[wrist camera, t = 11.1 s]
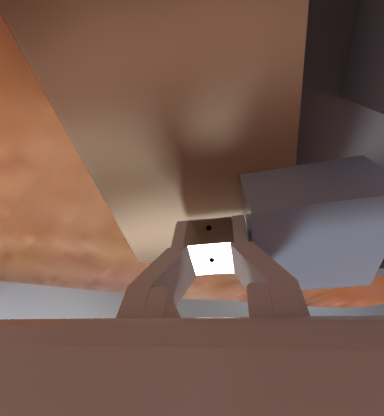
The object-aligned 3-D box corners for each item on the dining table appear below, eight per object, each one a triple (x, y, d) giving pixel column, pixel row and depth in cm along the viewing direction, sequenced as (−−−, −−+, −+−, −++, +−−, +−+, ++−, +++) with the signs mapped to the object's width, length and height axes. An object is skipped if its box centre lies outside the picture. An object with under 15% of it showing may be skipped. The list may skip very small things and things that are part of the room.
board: (51, 4, 8) (-15, -13, 6) (282, -79, 7) (321, -152, 4) (151, 229, 15) (139, 263, 13) (275, 216, 14) (288, 252, 11)
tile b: (239, 174, 9) (251, 212, 7) (362, 155, 8) (417, 191, 6) (245, 249, 11) (254, 293, 9) (338, 240, 10) (370, 285, 8)
